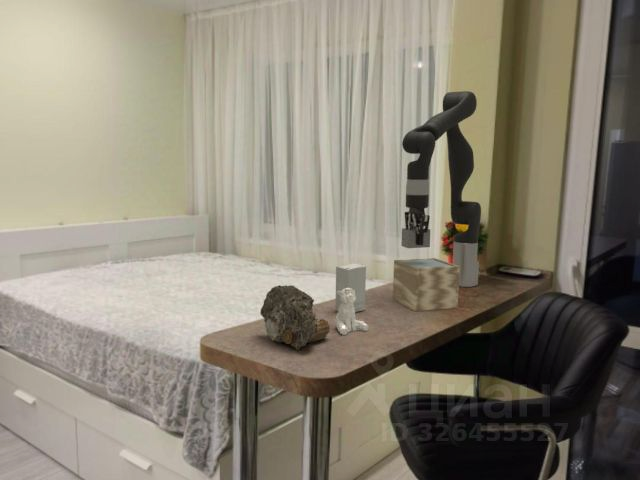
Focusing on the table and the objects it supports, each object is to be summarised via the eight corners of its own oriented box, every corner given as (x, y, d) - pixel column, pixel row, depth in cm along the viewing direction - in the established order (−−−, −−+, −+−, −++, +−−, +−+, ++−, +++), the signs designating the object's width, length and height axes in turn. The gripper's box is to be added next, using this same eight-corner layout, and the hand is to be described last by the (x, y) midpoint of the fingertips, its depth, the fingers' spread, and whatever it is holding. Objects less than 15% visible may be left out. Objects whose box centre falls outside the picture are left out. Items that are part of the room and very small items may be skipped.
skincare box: (353, 306, 173) (354, 262, 171) (366, 310, 169) (367, 265, 167) (334, 310, 168) (335, 265, 166) (346, 315, 163) (347, 268, 161)
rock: (262, 280, 132) (311, 265, 140) (252, 310, 143) (298, 294, 151) (296, 340, 124) (347, 320, 132) (283, 368, 135) (331, 348, 142)
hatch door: (432, 261, 186) (433, 259, 185) (452, 268, 173) (453, 265, 173) (399, 263, 181) (399, 260, 181) (417, 270, 169) (417, 267, 169)
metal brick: (422, 244, 180) (423, 227, 179) (429, 247, 175) (430, 229, 174) (401, 245, 177) (401, 228, 177) (407, 248, 173) (408, 230, 172)
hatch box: (432, 296, 189) (434, 258, 187) (457, 307, 174) (459, 266, 172) (392, 299, 184) (394, 260, 182) (414, 311, 169) (416, 268, 167)
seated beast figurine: (341, 336, 143) (342, 293, 141) (324, 328, 150) (325, 287, 148) (369, 331, 148) (370, 289, 146) (351, 323, 155) (352, 283, 153)
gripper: (438, 194, 168) (436, 246, 170) (417, 191, 181) (416, 240, 184) (417, 194, 166) (415, 247, 168) (397, 192, 179) (396, 241, 182)
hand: (415, 243), depth 176 cm, fingers closed on metal brick, 5 cm apart
